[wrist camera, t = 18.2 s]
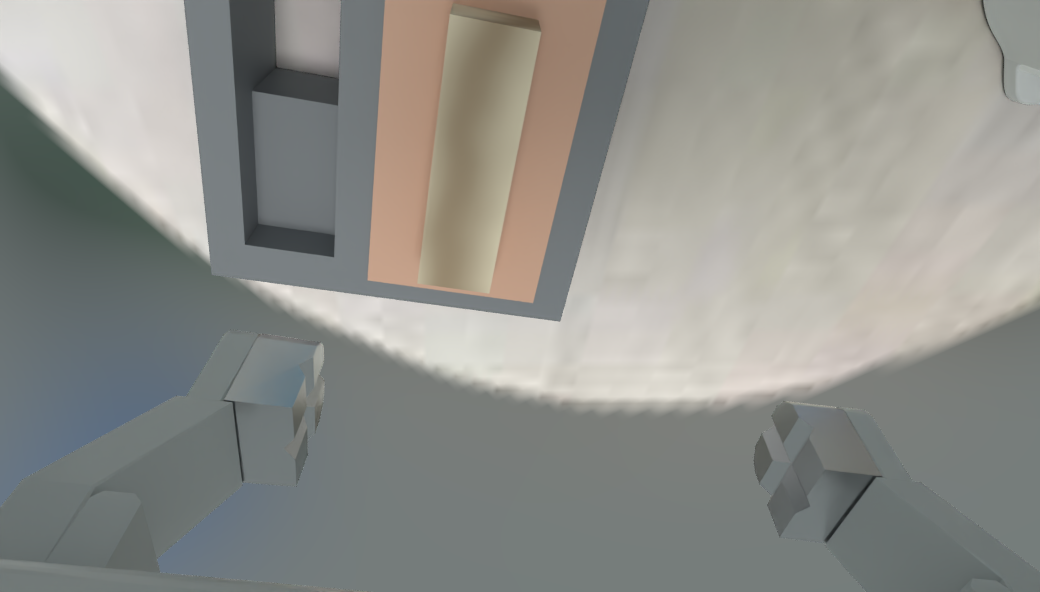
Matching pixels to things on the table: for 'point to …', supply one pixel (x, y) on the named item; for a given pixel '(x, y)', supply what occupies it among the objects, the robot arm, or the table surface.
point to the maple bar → (476, 144)
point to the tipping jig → (396, 147)
